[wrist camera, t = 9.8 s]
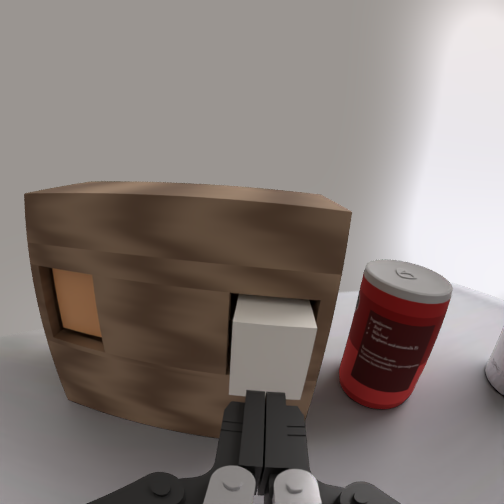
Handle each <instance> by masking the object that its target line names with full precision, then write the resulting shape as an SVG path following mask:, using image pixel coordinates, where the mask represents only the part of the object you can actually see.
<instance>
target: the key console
mask: <svg viewBox="0 0 504 504" xmlns="http://www.w3.org/2000/svg"><path fill="white" fill-rule="evenodd" d="M24 198H25V199H24V201H25V219H26V231H27V241H28V250H29V258H30V264H31V271H32V277H33V282H34V288H35V293H36V298H37V302H38V307H39V311H40V315H41V319H42V323H43V327H44V331H45V334H46V338H47V341H48V345H49V348H50V351H51V355H52V358H53V361H54V364H55V367H56V369H57V372H58V375H59V378H60V381H61V383H62V386H63V388H64V391H65V393H66V396H67V398H68V400H70V401H73V402H76V403H78V404H81V405H84V406H86V407H89V408H92V409H95V410H98V411H101V412H104V413H107V414H110V415H114V416H117V417H120V418H124V419H127V420H131V421H134V422H138V423H142V424H146V425H150V426H154V427H159V428H163V429H168V430H173V431H178V432H183V433H188V434H194V435H200V436H206V437H213V438H219V437H220V431H221V425H222V420H223V414H224V410H225V408H226V407H227V406H228V405H229V403H230V402H231V401H235V402H245V398H246V396H236V395H229V381H230V362H231V345H232V328H233V319H234V314H235V310H236V305H237V300H238V296H239V294H249V295H260V296H271V297H282V298H295V299H308V300H309V301H310V304H311V308H312V311H313V315H314V318H315V322H316V325H317V332H316V337H315V341H314V346H313V350H312V355H311V359H310V363H309V367H308V371H307V375H306V379H305V383H304V387H303V391H302V395H301V399H300V400H290V399H286V405H288V406H298V407H299V409H300V410H301V412H302V413H303V415H304V421H305V419H306V415H307V412H308V409H309V406H310V403H311V399H312V396H313V392H314V389H315V386H316V382H317V378H318V375H319V371H320V368H321V364H322V360H323V356H324V352H325V348H326V344H327V340H328V336H329V332H330V328H331V323H332V319H333V315H334V310H335V305H336V301H337V296H338V291H339V286H340V281H341V276H342V270H343V265H344V259H345V253H346V248H347V242H348V235H349V229H350V222H351V215H352V212H351V211H349V210H348V209H346V208H344V207H342V206H341V205H339V204H337V203H335V202H333V201H331V200H329V199H328V198H326V197H324V196H322V195H319V194H310V193H302V192H293V191H283V190H273V189H262V188H250V187H238V186H224V185H208V184H190V183H188V184H187V183H166V182H163V183H162V182H120V181H116V182H115V181H114V182H112V181H109V182H108V181H107V182H106V181H101V182H99V181H97V182H96V181H95V182H85V183H79V184H72V185H67V186H61V187H56V188H50V189H45V190H39V191H35V192H30V193H25V194H24ZM52 268H55V269H60V270H66V271H72V272H78V273H84V274H91V275H92V277H93V285H94V293H95V300H96V307H97V313H98V319H99V325H100V330H101V335H102V337H98V336H94V335H90V334H86V333H82V332H79V331H75V330H71V329H68V328H64V327H63V323H62V319H61V314H60V309H59V304H58V299H57V294H56V288H55V282H54V276H53V269H52Z"/></svg>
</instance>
